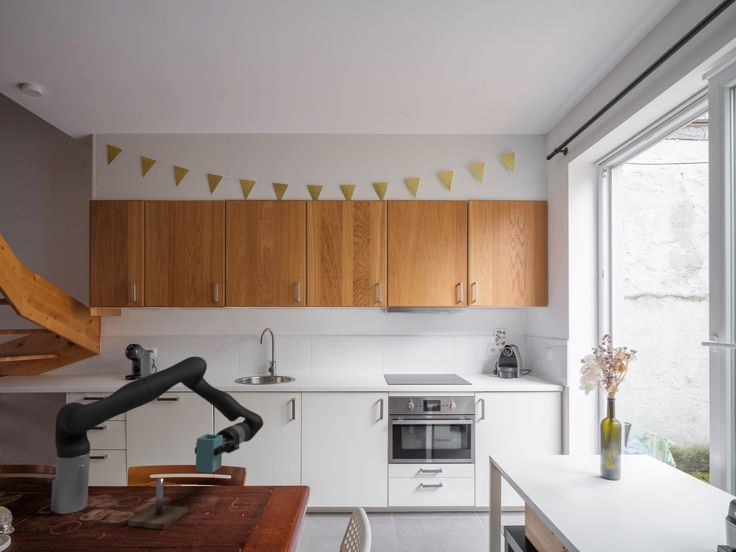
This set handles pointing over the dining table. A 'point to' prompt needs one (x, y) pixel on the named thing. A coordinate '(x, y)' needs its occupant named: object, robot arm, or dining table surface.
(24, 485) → the dining table surface
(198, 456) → the teal sleeve
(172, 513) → the walnut base plate
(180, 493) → the dining table surface
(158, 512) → the steel post
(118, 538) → the dining table surface
